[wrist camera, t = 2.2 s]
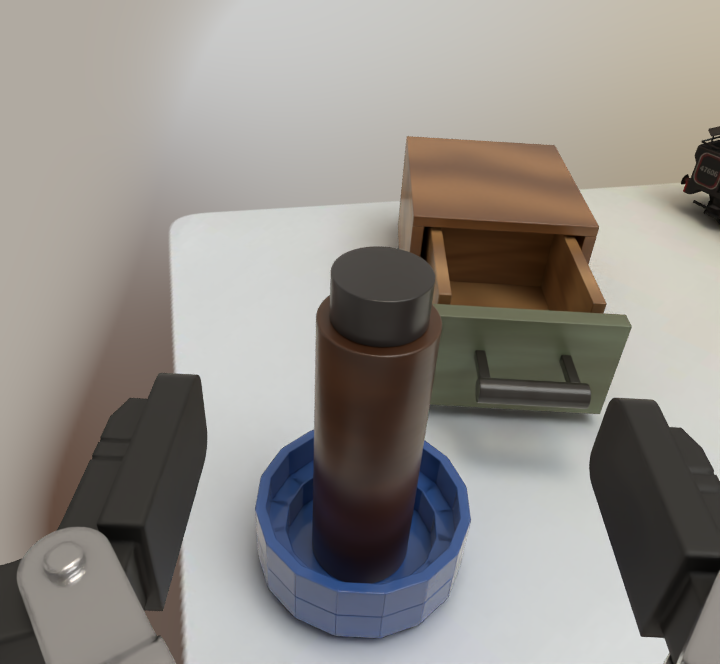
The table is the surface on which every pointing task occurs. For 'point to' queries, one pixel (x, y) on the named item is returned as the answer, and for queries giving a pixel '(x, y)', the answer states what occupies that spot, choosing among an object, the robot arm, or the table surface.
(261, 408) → the table surface
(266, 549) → the bowl
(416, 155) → the cabinet
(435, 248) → the drawer
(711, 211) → the toy train
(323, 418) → the pepper mill
